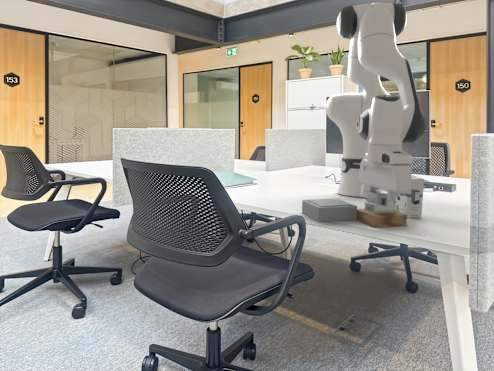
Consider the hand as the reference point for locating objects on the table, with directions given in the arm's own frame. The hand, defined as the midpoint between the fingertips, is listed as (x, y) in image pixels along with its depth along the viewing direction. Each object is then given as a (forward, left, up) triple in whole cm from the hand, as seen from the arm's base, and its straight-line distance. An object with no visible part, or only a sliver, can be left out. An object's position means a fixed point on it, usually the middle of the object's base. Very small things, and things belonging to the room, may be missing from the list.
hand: (380, 204), depth 115 cm
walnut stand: (0, 0, -5) cm, 5 cm away
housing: (0, 0, -2) cm, 2 cm away
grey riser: (+11, -10, -5) cm, 16 cm away
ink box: (-14, -7, -5) cm, 17 cm away
